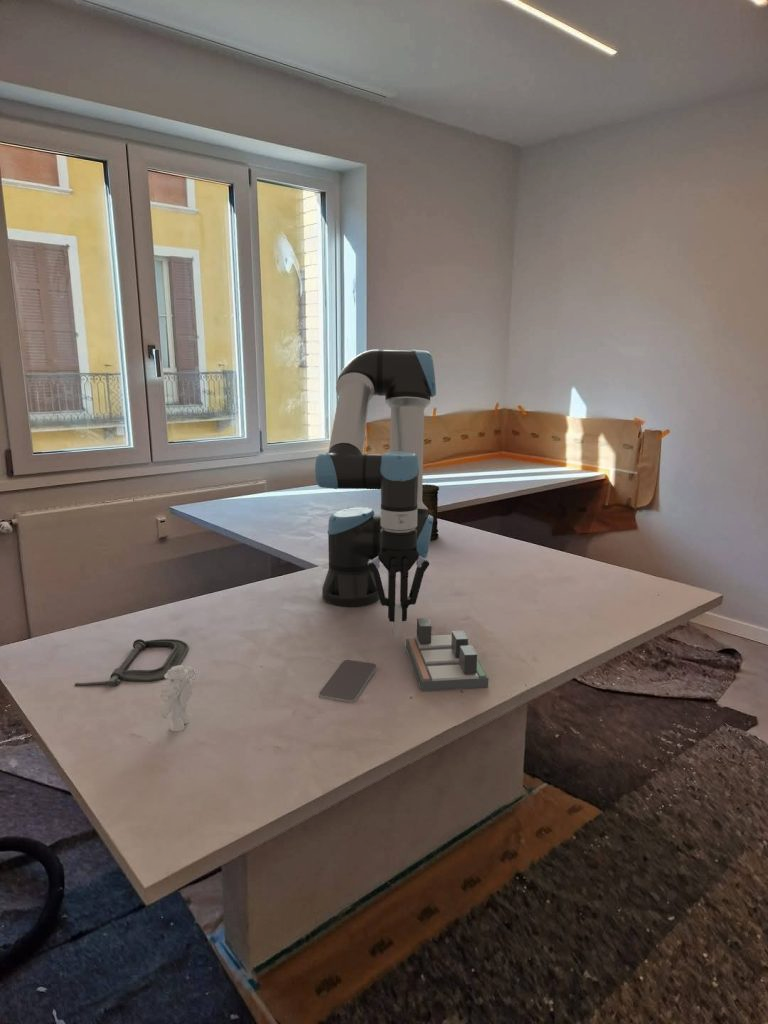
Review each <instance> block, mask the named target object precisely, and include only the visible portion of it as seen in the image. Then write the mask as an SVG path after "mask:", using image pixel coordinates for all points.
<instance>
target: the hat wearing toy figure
mask: <svg viewBox="0 0 768 1024" xmlns="http://www.w3.org/2000/svg"><path fill="white" fill-rule="evenodd" d="M196 670H197V669H195V668H193V666H192V665H188V666H185V664H184V665H182V664H180V665H178V666H174V667H172V668H171V669H170V670H168V671H167V673H166V674H165V675H164V677H165V678H166V679H167V680H169V683H168V682H166V684H165V686H164V687H163V688H161V689H159V691H158V693H160V695H159V697H160V698H161V699H162V701H163V702H166V703H165V705H164V706H165V707H164V708H163V710H162V711H161V713H160V714H161V716H162V718H163V719H168V715H169V714H170V713H171V720H172V723H171V724H170V725H169V731H172V732H182V731H184V729H185V725H187V724H188V723H190V721H191V719H190V715H189V712H188V710H187V706H188V704H187V703H188V701H189V700H190V698H191V695H192V694H193V683H192V681H191V680H190V679H192V680H193V681H195V680H196V679H197V673H196V672H197V671H196ZM166 679H165V680H166ZM163 697H165V698H166V699H165V698H163ZM171 708H172V709H171Z"/></svg>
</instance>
